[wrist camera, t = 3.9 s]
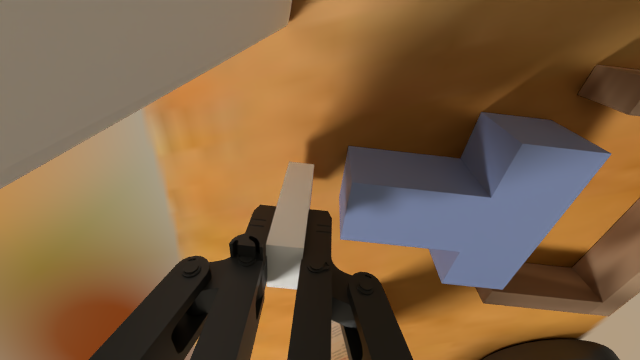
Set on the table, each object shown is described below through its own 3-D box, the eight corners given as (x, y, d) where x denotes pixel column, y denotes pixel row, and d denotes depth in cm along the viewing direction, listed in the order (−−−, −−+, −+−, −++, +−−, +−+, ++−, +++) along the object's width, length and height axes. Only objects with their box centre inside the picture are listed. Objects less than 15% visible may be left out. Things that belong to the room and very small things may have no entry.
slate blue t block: (333, 227, 21) (333, 272, 17) (357, 97, 15) (363, 125, 12) (475, 243, 21) (502, 289, 17) (551, 119, 15) (611, 153, 12)
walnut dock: (578, 281, 23) (608, 316, 20) (466, 269, 22) (483, 303, 20) (779, 86, 14) (878, 106, 11) (596, 64, 13) (655, 79, 11)
